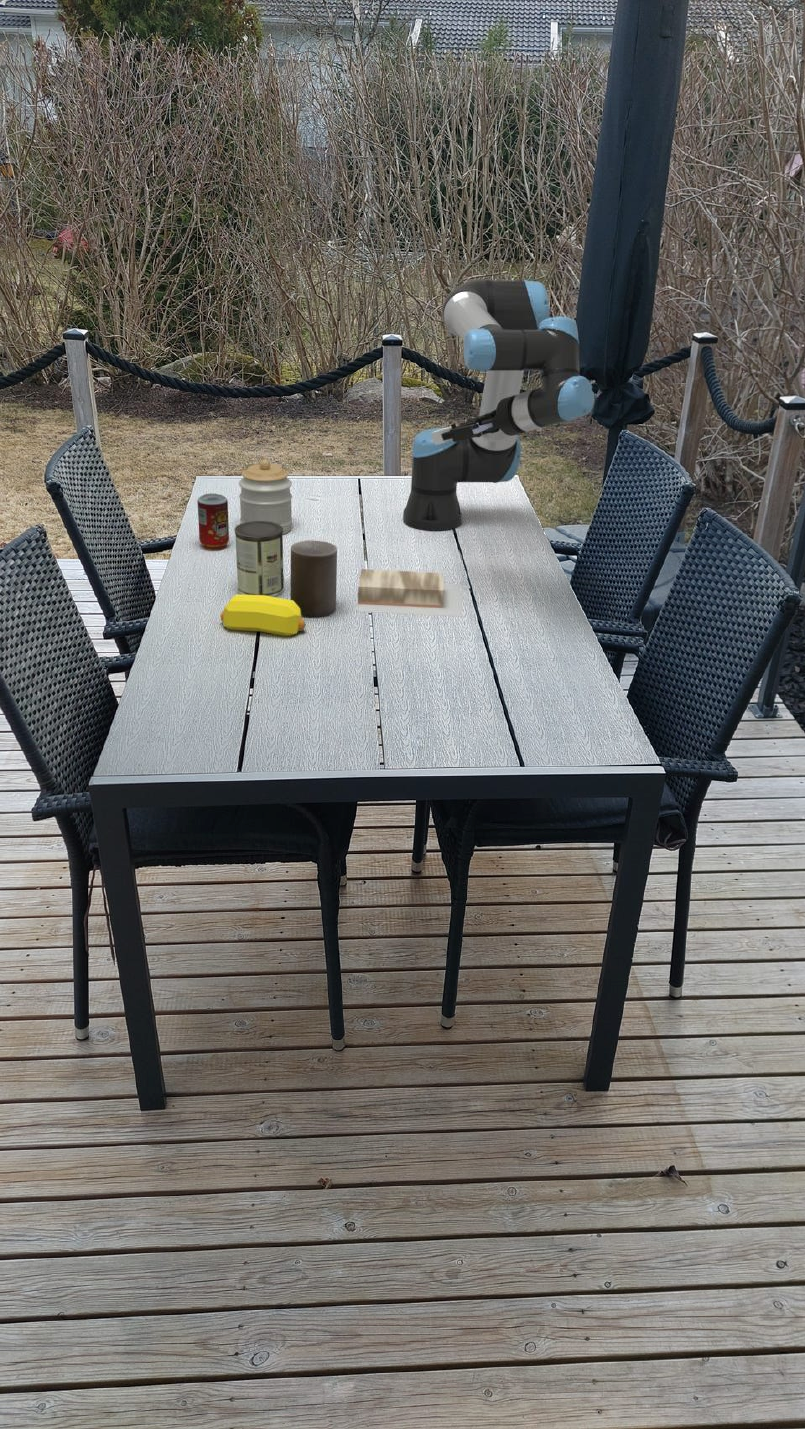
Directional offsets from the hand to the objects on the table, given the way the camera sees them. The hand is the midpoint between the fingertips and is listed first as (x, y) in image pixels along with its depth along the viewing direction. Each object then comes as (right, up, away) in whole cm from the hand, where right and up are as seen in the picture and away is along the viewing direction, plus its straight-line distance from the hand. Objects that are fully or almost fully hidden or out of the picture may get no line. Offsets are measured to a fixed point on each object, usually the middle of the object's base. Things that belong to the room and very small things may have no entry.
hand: (435, 438), depth 238 cm
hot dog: (-36, -42, -11) cm, 56 cm away
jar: (-41, -13, +40) cm, 59 cm away
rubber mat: (-5, -35, +3) cm, 35 cm away
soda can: (-52, -19, +28) cm, 62 cm away
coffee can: (-38, -32, +6) cm, 50 cm away
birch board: (+2, -32, +2) cm, 33 cm away
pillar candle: (-26, -37, -2) cm, 45 cm away
